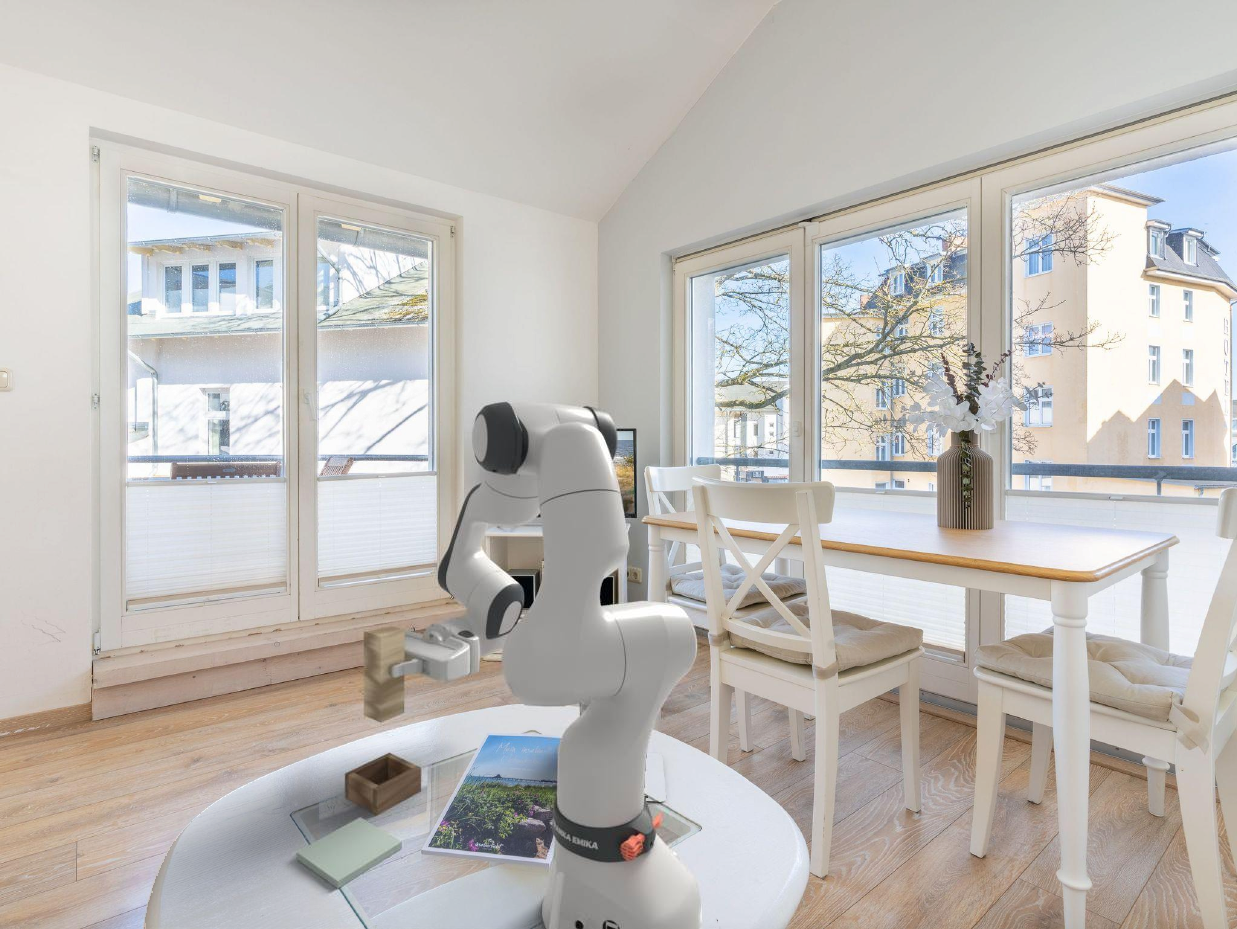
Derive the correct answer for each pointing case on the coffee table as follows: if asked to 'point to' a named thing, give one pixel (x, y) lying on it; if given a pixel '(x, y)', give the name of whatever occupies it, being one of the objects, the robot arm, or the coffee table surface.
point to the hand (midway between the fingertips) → (379, 667)
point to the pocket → (388, 794)
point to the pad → (348, 851)
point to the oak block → (383, 673)
